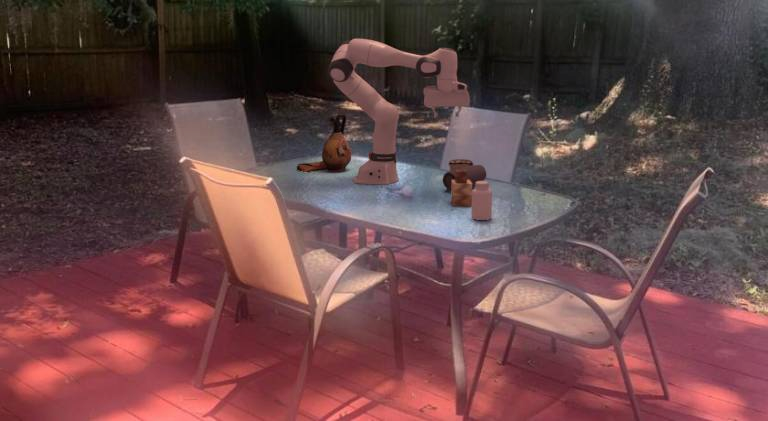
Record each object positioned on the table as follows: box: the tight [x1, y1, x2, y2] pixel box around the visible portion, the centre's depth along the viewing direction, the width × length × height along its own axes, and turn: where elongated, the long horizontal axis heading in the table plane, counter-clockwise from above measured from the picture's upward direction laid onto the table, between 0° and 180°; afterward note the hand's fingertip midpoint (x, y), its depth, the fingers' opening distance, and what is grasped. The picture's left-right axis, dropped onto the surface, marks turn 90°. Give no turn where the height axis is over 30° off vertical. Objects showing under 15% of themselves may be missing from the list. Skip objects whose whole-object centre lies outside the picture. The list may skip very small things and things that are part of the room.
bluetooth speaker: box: [442, 164, 487, 191], centre depth 322 cm, size 23×9×10 cm, turn 134°
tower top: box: [450, 180, 473, 196], centre depth 293 cm, size 8×8×5 cm
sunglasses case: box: [296, 160, 328, 173], centre depth 364 cm, size 18×7×7 cm, turn 125°
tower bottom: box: [450, 193, 472, 208], centre depth 295 cm, size 8×8×5 cm
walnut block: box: [455, 169, 467, 183], centre depth 292 cm, size 4×4×5 cm
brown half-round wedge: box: [447, 158, 474, 171], centre depth 337 cm, size 12×6×10 cm, turn 84°
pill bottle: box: [471, 180, 493, 221], centre depth 272 cm, size 8×8×15 cm
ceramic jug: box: [321, 113, 352, 173], centre depth 358 cm, size 17×15×30 cm
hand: (446, 116), depth 305 cm, fingers open, 8 cm apart
